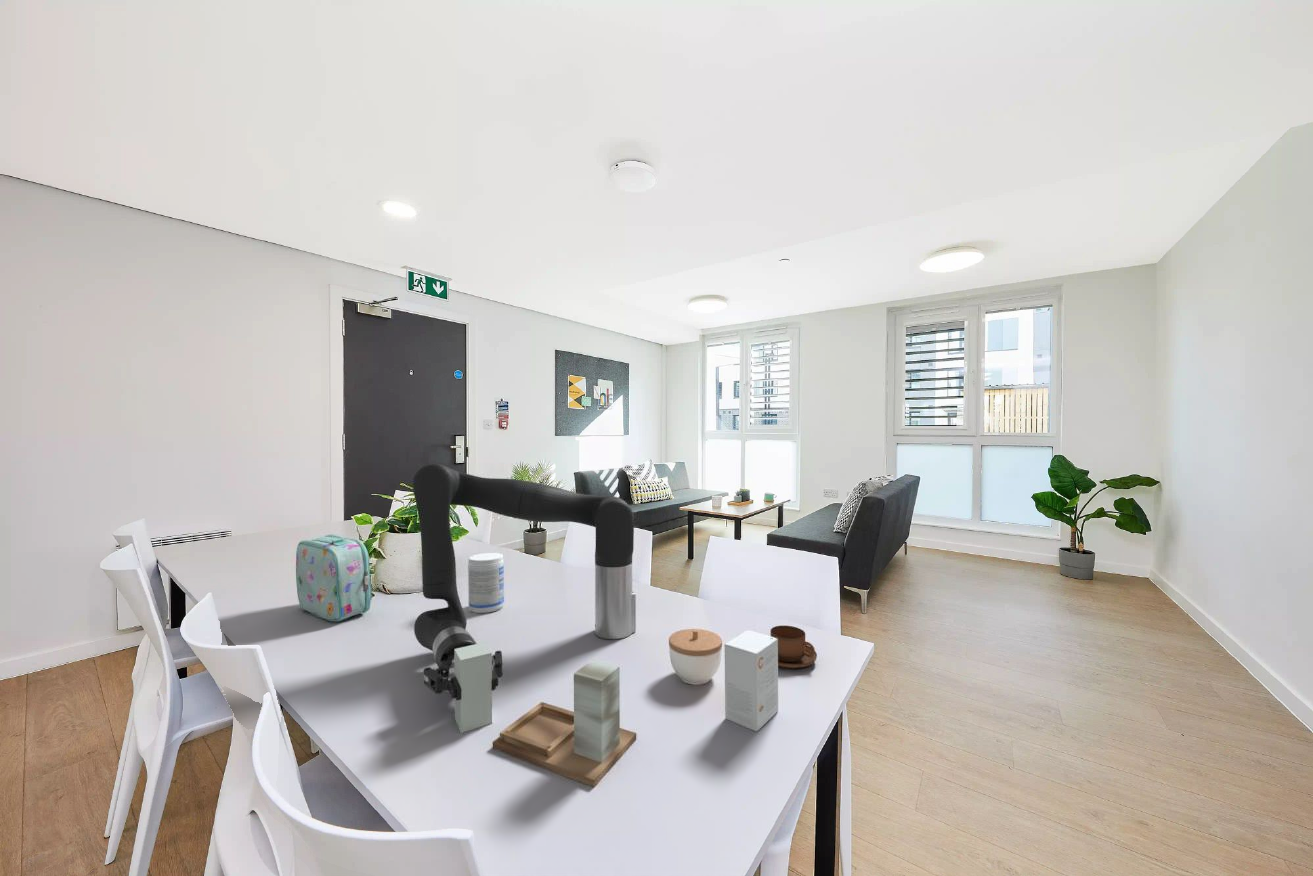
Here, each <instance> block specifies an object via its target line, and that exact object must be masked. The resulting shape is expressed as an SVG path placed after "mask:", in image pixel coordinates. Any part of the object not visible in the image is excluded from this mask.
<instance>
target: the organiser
mask: <svg viewBox="0 0 1313 876" xmlns="http://www.w3.org/2000/svg"><path fill="white" fill-rule="evenodd" d="M620 668H621V667H620V666H619V665H615V664H611V663H607V662H604V661H599V660H595V659H592V660H590V661H589V662H588V663H586V664H584V665H583V666H582V667H581V668H579V669H577V670H576V671H575V672H574V673H573V711H572V710H569V709H566V708H562V707H559V706H556V705H552V704H549V703H547V702H543V701H541V702H539V703H538V704H536V705H535V706H534V707H533V708H531V709H530V710H529V711H527V712H526V713H524V714H523V715H521V716H520V717H519V718H518V719H516V720H515V721H513V723H511V724H509V725H508V726H506V728H504V729H503V730H502V731H500V732H499V736H498V737H497V738H496V739H494V740H493V741H492V749H494V750H496V751H498V752H499V751H500V752H501V753H504V754H507V755H509V756H512V757H513V758H514V757H515V758H516V759H520V760H521V761H525V762H527V763H530V764H533V765H535V766H538V767H541V768H543V769H546V770H548V771H551V772H553V773H556V774H559V775H561V776H564V777H567V778H569V779H572V780H574V781H577V782H580V783H582V784H584V785H587V786H589V787H592V788H595V787H596V786H597V785H598V784H599V783H600V781H602V779H603V778H604V777H605V776H606V775H607V773H609V771H610V770H611V769H612V768H613V767H614V765H616V763H617V762H618V761H619V760H620V759H621V758H622V756H623V755H624V754H625V753H626V752H627V751H628V750H629V749H630V747H631V746H632V745H633V744H634V743H635V741H636V740H637V732H634V731H631V730H627V729H624V728H621V725H620V724H621V723H620V722H621V719H620V717H621V716H620V714H621V712H620V711H621V709H620V708H621V707H620V705H621V704H620V699H621V698H620V697H621V695H620V694H621V693H620V691H621V690H620V689H621V687H620V685H621V683H620V682H621V681H620V679H621V678H620V674H621V673H620V672H621V671H620Z"/></svg>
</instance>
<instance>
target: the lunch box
mask: <svg viewBox="0 0 1313 876" xmlns="http://www.w3.org/2000/svg"><path fill="white" fill-rule="evenodd" d="M370 570H371V569H370V556H369V552H368V549H367V547H366V545H365V544H364V543H363V542H361V540H358V539H355V538H354V539H353V538H346V537H342V536H340V535H339V534H332V533H331V534H327V535H324V536H320V537H316V538H311V539H307V540H301V541H299V542H298V543H297V547H296V554H295V578H296V579H295V581H296V591H297V593H296V594H297V600H298V603H299V606H300V608H301V609H303V610H304V611H306V612H308V613H311V614H312V615H314V616H315V617H316V618H321V619H324V620H327V621H330V622H334V623H335V622H340V621H343V620H346V619H348V618H351V617H353V616H356V615H359V614H365V613H367V612H368V611H369V610H370V607H371V603H372V602H371V601H372V599H373V594H372V584H371V574H370V573H371V572H370Z"/></svg>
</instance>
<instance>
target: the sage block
mask: <svg viewBox="0 0 1313 876" xmlns="http://www.w3.org/2000/svg"><path fill="white" fill-rule="evenodd" d="M492 656H493V653H492V651H491V650H490V648H489V646H488V645H487V644H486V643H485V642H483V641H482V642H479V643H477V644H475V645H470V646H466V647H461V648H457V649H454V667H455V678H457V680H458V682H459V684H460V687H461V700H457V701H456V698H454V720H455V722H456V725H457V728H458V730H459V732H460V734H462V733H463V734H464V733H466V732H469V731H473V730H476V729H478V728H481V727H484V726H488V725H491V724H492V723H493V691H492V680H491V679H492Z"/></svg>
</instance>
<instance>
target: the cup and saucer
mask: <svg viewBox="0 0 1313 876" xmlns="http://www.w3.org/2000/svg"><path fill="white" fill-rule="evenodd" d="M770 636H771V637H774V638H777V639H778V667H782V668H787V669H800V668H806V667H808V666H810V665H813V664H814V663H815V662H816V660H817V657H818V654H817V652H816V650H815V646H813V644H812V643H810V642H809V641H806V632H805V631H804V630H803V629H801V628H799V627H796V626H792V625H776V626H773V627H771V628H770Z"/></svg>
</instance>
